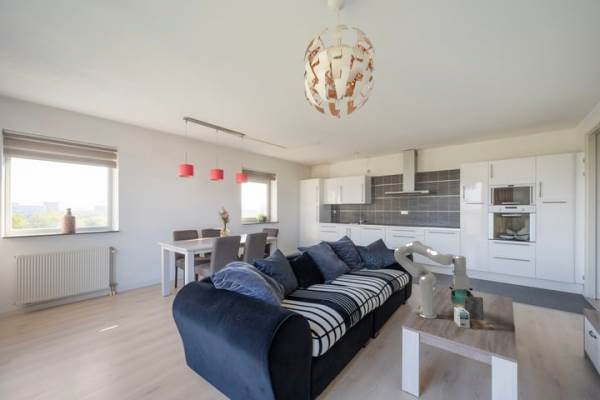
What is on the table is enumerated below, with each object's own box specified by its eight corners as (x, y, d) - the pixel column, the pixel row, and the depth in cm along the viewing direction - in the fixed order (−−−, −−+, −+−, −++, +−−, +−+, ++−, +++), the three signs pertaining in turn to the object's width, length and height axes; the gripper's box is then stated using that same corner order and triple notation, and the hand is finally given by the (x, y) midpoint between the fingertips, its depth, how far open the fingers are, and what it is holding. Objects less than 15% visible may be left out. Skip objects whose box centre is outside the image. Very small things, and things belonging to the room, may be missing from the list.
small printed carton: (472, 328, 177) (471, 302, 178) (464, 320, 191) (463, 296, 192) (492, 330, 174) (491, 303, 175) (482, 321, 188) (481, 297, 189)
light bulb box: (470, 328, 177) (469, 312, 178) (459, 327, 179) (459, 312, 179) (463, 321, 188) (463, 307, 188) (453, 321, 189) (453, 306, 190)
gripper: (449, 273, 184) (449, 297, 183) (475, 274, 180) (476, 299, 179) (445, 271, 191) (446, 294, 190) (471, 272, 187) (471, 295, 186)
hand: (460, 296), depth 185 cm, fingers open, 9 cm apart
